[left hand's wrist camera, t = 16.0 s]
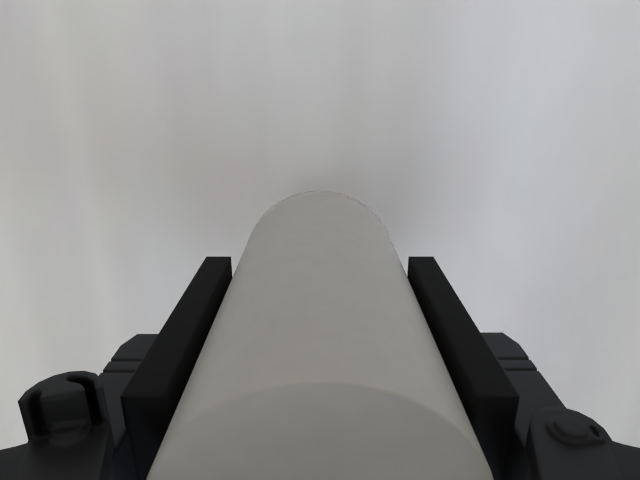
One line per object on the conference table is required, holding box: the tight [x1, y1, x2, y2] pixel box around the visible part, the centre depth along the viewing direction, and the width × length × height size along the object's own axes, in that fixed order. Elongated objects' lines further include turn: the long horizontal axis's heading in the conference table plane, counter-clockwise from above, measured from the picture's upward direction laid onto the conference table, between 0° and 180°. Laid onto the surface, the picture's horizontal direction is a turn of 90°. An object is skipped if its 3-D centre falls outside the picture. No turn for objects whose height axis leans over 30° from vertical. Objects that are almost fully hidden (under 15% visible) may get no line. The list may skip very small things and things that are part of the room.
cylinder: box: [146, 191, 494, 480], centre depth 12 cm, size 6×6×11 cm
